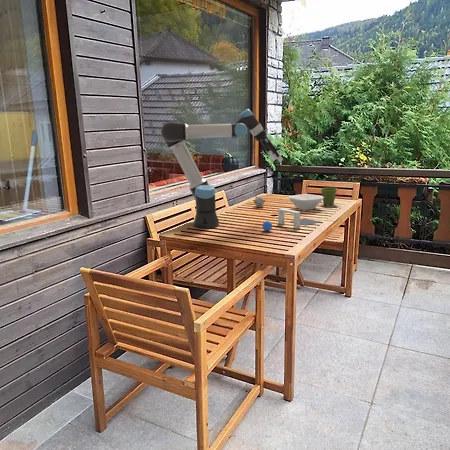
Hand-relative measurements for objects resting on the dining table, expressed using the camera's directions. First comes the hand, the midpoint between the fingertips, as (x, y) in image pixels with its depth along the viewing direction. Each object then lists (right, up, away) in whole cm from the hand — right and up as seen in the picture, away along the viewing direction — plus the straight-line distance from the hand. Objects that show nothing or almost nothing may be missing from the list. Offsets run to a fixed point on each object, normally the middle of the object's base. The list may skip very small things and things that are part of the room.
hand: (278, 160), depth 258 cm
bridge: (+4, -41, -17) cm, 45 cm away
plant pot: (+42, -26, +42) cm, 65 cm away
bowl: (+23, -30, +28) cm, 47 cm away
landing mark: (+15, -39, -9) cm, 43 cm away
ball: (-10, -41, -27) cm, 50 cm away
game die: (-8, -28, +40) cm, 49 cm away
